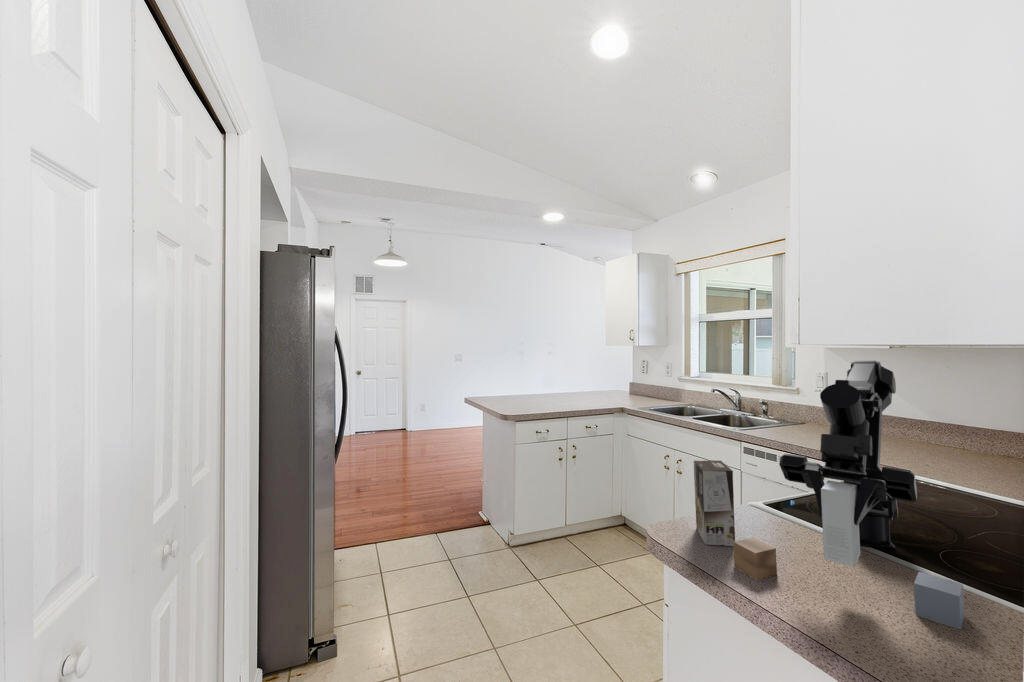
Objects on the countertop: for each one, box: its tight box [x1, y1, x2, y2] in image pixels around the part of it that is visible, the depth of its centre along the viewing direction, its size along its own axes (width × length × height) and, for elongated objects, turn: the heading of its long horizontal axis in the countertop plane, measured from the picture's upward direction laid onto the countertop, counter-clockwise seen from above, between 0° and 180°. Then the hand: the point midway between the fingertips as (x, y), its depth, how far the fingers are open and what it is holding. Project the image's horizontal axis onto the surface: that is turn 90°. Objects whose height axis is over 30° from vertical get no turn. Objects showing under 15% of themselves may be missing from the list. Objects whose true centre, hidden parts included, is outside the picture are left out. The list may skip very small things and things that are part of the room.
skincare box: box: [821, 480, 861, 568], centre depth 73 cm, size 6×4×12 cm
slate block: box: [913, 571, 965, 630], centre depth 68 cm, size 5×5×5 cm
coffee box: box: [693, 460, 736, 547], centre depth 97 cm, size 9×6×16 cm
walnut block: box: [733, 537, 778, 581], centre depth 82 cm, size 5×5×5 cm
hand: (838, 520), depth 72 cm, fingers closed on skincare box, 4 cm apart
